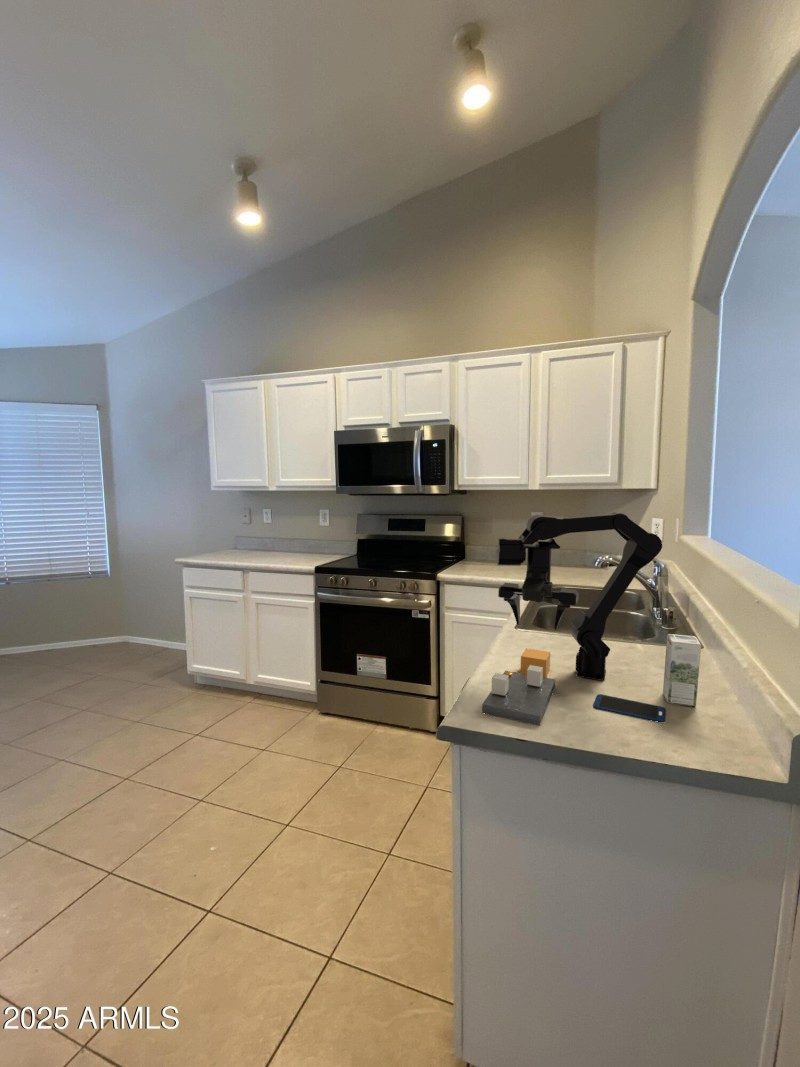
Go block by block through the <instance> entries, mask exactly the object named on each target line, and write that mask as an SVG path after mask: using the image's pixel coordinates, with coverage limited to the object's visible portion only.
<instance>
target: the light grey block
mask: <svg viewBox="0 0 800 1067" xmlns="http://www.w3.org/2000/svg"><path fill="white" fill-rule="evenodd" d="M542 681H543V667H538V666H532V665H530V666H529V668H528V669H527V684H528V685H533V686H539V687H540V686H541V684H542Z"/></svg>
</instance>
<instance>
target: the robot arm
mask: <svg viewBox="0 0 800 1067" xmlns="http://www.w3.org/2000/svg"><path fill="white" fill-rule="evenodd" d="M612 530H614V531H615V532H616V533H617V534H618V535H619V536H620V537H621V538H622V539H624V540H625V541H626V542H625V545H624V547H623V551H622V556H621V560H620V562H619V563H618V565H617V566H616V568H615V569H614V570H613V572H612V574H611V576H610V577H609V579H608V580H607V582H606V583H605V585H604V586H603V588H602V589H601V590H600V592H599V594H598V595H597V597H596V598H595V600H594V601H593V602H592V605H591V606H590V607H589V608H588V609H587V610H585V611H583V610H581V609H578V611H577V612H576V614H575V616H574V618H573V619H572V620H571V621H570V624H571V626H570V629H569V631H570V634H571V636H572V637H573V639H574V640H575V641H576V642H577V644H578V645H579V648H578V652H577V653H576V655H575V671H576V676H577V677H581V678H586V679H587V678H588V679H592V680H597V681H605V679H606V674H607V669H606V664H607V657H608V656H609V654H610V651H611V648H610V647H609V646H608V645H607V644H606V642H604V641H603V639H602V638H603V636H604V634H605V631H606V625H607V621H608V618H609V616H610V615H611V613H612V612H613V610H614V609H615V608H616V606H617V605H618V603H619V602H620V600H621V598H622V597H623V595H624V593H625V592H626V590H627V589H628V588H629V586H630V585H631V583H632V582H633V580H635V577H636V575H637V574H638V572H640V570H641V569H643V568H644V567H645V566H648V564H651V562H652V561H654V559H655V558H656V557H657V556H658V555H659V554H660V552H661V550H662V548H663V542H662V539H661V538H660V536H659V535H657V534H655V533H652V532H649V531H646V530H645V529H644V528H643V527H641V526H640V525H638V524H637V523H635V522H634V521H633V520H632V519H630V518H629V517H628V516H627V515H626V514H624V513H623V512H617V511H616V512H611V513H603V514H602V513H601V514H589V515H579V516H567V517H565V516H554V515H547V514H536V515H532V516H531V517H530V518H529V519H528V521H527V522H526V528H525V529H524V530H523V531H522V533H521V534H520V536H518V538H505V537H499V538H498V540H497V542H498V543H497V549H495V550H496V565H497V566H511V567H512V566H515V567H518V566H519V567H520V566H522V564H524V562H526V574H525V579H524V581H523V585H522V587H519V583H512V582H504V583H502V585H500V586H499V588H498V590H497V591H498V593H497V595H498V596H497V597H498V598H502V599H503V601H504V602H507V603H508V604H509V605H510V608H511V610H512V613H513V616H514V620H515V622H516V624H517V626H519V625H520V624H521V597H520V596H522V600H523V601H524V602H528V601H530V602H535V603H542V602H543V601H544V599H553V600H558V603H557V606H556V613H555V619H554V620H555V621H554V630H555V631H556V630H557V628H558V627H559V624H560V623H561V622H560V621H561V619H562V616H563V613H564V612H565V610H566V609H569V608H571V606H576V605H577V604H578V601H579V591H578V590H577V589H573V588H564V587H562V588H561V589H560V590H559V591H555V590H554V586H553V582H552V581H551V574H552V571H551V568H552V550H555V549H557V550H560V549H561V546H560V545H559V544H558V543H557V542H556V540H555V539H554V538H558V537H561V536H563V535H564V536H565V535H567V534H572V533H573V534H574V533H585V532H596V531H597V532H598V531H599V532H601V531H612ZM526 549H527V550H526Z"/></svg>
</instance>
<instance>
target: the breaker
mask: <svg viewBox="0 0 800 1067" xmlns="http://www.w3.org/2000/svg"><path fill="white" fill-rule="evenodd" d="M508 682H509V675H504V674H503V673H497V672H495V673H494V674H493V676H491V691H492V692H491V691H490V692H491V693H494V694H499V695H504V696H505V695H506V693H507V692H508Z"/></svg>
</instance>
